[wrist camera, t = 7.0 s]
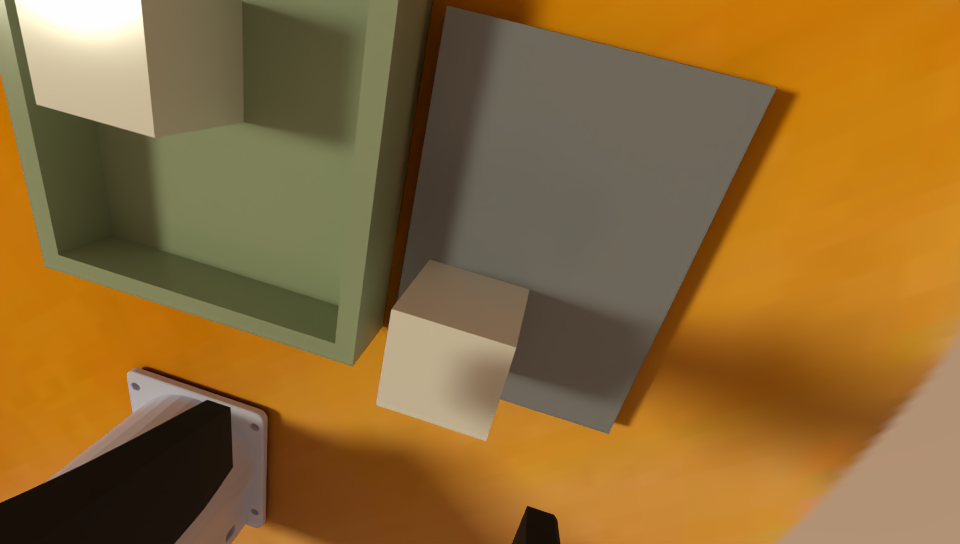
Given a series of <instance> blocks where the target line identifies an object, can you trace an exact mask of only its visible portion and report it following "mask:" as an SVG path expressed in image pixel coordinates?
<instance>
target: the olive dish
mask: <svg viewBox="0 0 960 544" xmlns="http://www.w3.org/2000/svg"><path fill="white" fill-rule="evenodd" d="M240 1H242V26H243V95H244V123H238V124H232V125H226V126H220V127H215V128H209V129H203V130H197V131H191V132H186V133H180V134H174V135H168V136H162V137H157V138H154V137H150V136H147V135H143V134H140V133H136V132H132V131H129V130H125V129H122V128H118V127H115V126H111V125H108V124H104V123H101V122H97V121H94V120H90V119H86V118H83V117H79V116H76V115H72V114H69V113H65V112H62V111H58V110H55V109H51V108H48V107H44V106H41V105H37V104H36V100H35V95H34V90H33V86H32V81H31V76H30V71H29V66H28V62H27V57H26V52H25V47H24V43H23V38H22V33H21V28H20V23H19V19H18V14H17V9H16V4H15V0H0V74H1V78H2V82H3V87H4V91H5V95H6V100H7V104H8V108H9V113H10V117H11V121H12V126H13V130H14V134H15V139H16V143H17V147H18V152H19V156H20V160H21V165H22V169H23V173H24V178H25V182H26V186H27V191H28V195H29V199H30V204H31V208H32V213H33V217H34V221H35V226H36V230H37V234H38V239H39V243H40V247H41V252H42V256H43V260H44V265H45V267H47V268H50V269H53V270H57V271H60V272H63V273H66V274H69V275H72V276H75V277H78V278H81V279H84V280H87V281H91V282H94V283H97V284H100V285H103V286H106V287H109V288H112V289H115V290H118V291H121V292H125V293H128V294H131V295H134V296H137V297H140V298H143V299H146V300H149V301H152V302H155V303H159V304H162V305H165V306H168V307H171V308H174V309H177V310H180V311H183V312H186V313H189V314H193V315H196V316H199V317H202V318H205V319H208V320H211V321H214V322H217V323H220V324H223V325H227V326H230V327H233V328H236V329H239V330H242V331H245V332H248V333H251V334H254V335H257V336H261V337H264V338H267V339H270V340H273V341H276V342H279V343H282V344H285V345H288V346H291V347H294V348H298V349H301V350H304V351H307V352H310V353H313V354H316V355H319V356H322V357H325V358H328V359H332V360H335V361H338V362H341V363H344V364H347V365H350V366H353V365H354V364H355V362H356V361H357V360H358V358H359V357H360V356H361V354H362V353H363V352H364V350H365V349H366V348H367V346H368V345H369V344H370V342H371V341H372V340H373V339H374V337H375V336H376V335H377V333H378V332H379V331H380V329H381V328H382V327H383V320H384V314H385V307H386V301H387V294H388V288H389V281H390V275H391V269H392V262H393V256H394V249H395V243H396V236H397V230H398V223H399V217H400V210H401V204H402V198H403V191H404V185H405V178H406V172H407V165H408V159H409V152H410V146H411V139H412V133H413V127H414V120H415V114H416V107H417V101H418V94H419V88H420V81H421V75H422V69H423V62H424V56H425V49H426V43H427V36H428V30H429V23H430V17H431V10H432V4H433V0H240Z"/></svg>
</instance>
